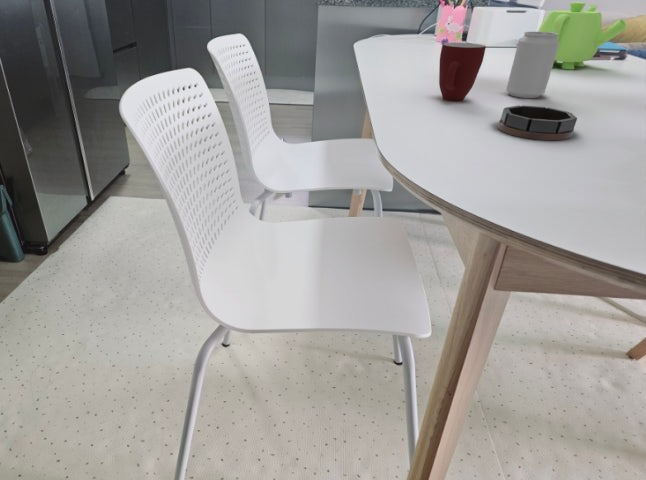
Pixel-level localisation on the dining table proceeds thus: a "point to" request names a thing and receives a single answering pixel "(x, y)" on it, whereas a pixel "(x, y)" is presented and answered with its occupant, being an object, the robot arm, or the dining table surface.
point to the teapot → (579, 33)
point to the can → (532, 64)
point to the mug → (459, 69)
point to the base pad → (537, 122)
